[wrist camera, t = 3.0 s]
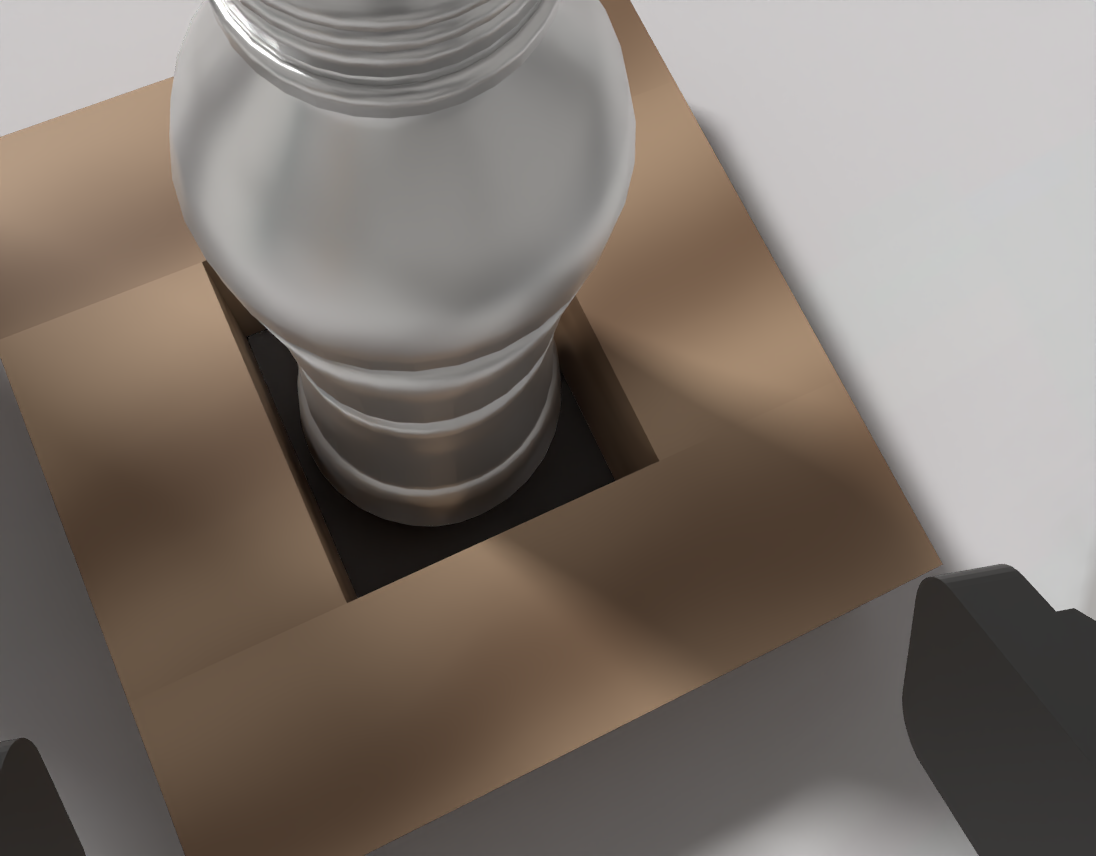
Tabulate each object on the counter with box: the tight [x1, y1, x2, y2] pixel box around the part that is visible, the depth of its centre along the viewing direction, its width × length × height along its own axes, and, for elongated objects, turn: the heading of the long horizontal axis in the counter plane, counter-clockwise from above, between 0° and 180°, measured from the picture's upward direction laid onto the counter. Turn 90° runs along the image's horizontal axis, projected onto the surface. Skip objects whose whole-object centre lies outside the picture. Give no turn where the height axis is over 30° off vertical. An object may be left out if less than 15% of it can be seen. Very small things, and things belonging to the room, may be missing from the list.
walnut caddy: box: [0, 0, 943, 856], centre depth 26 cm, size 18×17×5 cm
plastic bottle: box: [169, 0, 636, 526], centre depth 19 cm, size 6×7×20 cm
